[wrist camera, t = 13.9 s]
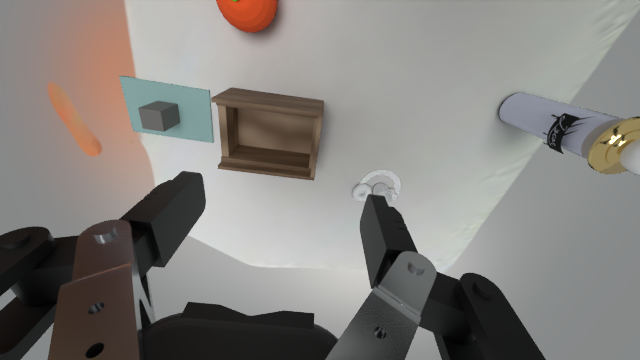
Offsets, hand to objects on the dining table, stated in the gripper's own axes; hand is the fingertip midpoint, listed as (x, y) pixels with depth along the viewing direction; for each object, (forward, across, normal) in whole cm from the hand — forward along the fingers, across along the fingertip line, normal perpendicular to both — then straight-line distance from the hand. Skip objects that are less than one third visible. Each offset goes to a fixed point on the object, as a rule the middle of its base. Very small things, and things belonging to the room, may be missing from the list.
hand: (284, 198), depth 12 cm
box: (+28, +5, +6) cm, 29 cm away
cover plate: (+29, +22, +6) cm, 37 cm away
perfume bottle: (+28, -31, -2) cm, 42 cm away
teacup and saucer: (+29, -12, +13) cm, 34 cm away
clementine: (+28, +9, -10) cm, 31 cm away
